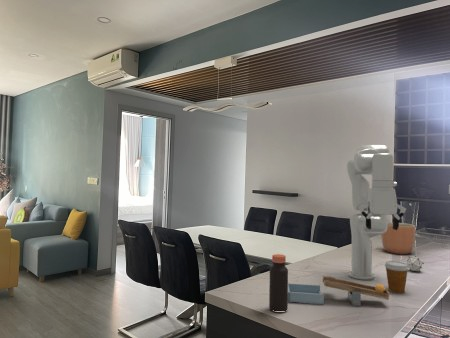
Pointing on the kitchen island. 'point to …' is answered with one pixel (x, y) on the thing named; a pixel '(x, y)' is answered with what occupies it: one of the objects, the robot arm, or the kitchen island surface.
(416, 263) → the spiky grey ball
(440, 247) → the kitchen island surface
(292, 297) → the dish
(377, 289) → the ball
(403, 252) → the planter
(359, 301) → the grey arch block
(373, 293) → the lever
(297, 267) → the kitchen island surface
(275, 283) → the bottle
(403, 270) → the disposable coffee cup
